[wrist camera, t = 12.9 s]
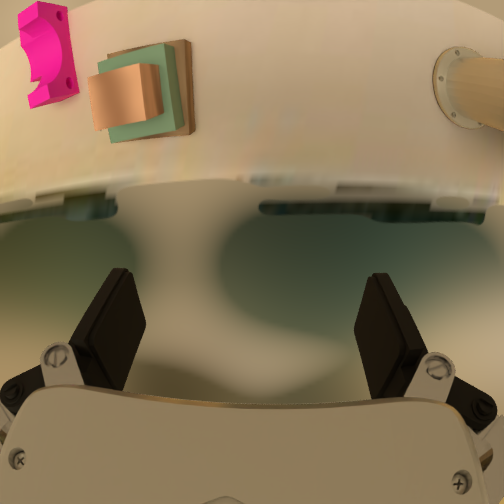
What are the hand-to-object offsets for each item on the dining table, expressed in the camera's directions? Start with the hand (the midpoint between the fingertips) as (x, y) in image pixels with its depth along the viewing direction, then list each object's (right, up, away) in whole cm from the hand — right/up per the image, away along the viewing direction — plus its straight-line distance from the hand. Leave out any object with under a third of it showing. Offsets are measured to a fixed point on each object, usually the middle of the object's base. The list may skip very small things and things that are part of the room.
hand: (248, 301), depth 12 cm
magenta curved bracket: (-28, +31, +18) cm, 45 cm away
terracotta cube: (-12, +19, +16) cm, 27 cm away
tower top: (-12, +21, +19) cm, 31 cm away
